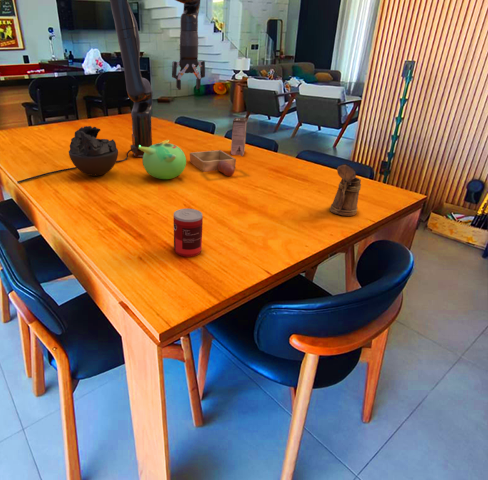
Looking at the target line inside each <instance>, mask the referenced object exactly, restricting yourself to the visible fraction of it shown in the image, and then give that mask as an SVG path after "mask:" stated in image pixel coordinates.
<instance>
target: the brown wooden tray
mask: <svg viewBox="0 0 488 480" xmlns="http://www.w3.org/2000/svg"><path fill="white" fill-rule="evenodd" d="M220 161H226V162H227V163H229V164H230V165H232V166H233V167H234V169H235V170H236V164H237V158H234V157H233V156H231V154H229V153H226V152H225V151H223V150H221V149H217V150H205V151H195V152H189V163H191V164H192V165H193V166H195V167H196V168H197V169H198V170H200V171H201V172H202V173H204V172H216V171H219V170H218V167H217V166H218V163H219V162H220Z"/></svg>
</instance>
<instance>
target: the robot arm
mask: <svg viewBox="0 0 488 480" xmlns="http://www.w3.org/2000/svg"><path fill="white" fill-rule="evenodd" d="M175 1H176V2H178V3H180V4H183V12H182V13H181V15H180V23H179V24H180V26H179V27H180V32H179V61H175V60H173V61H172V63H171V64H172V65H171V78H173V79H175V80H176V81H175V82H176V83H175V84H176V85H175V87H176V89H177V90H178V91H181V90H182V89H181V88H182V81H181V79H182V77H183V76H184V75H185V74H193V75H194V76H195V78H196V79H195V89H196V90H200V88H201V85H202V83H201V82H202V81H201V80H202V79H203V78H205V77H206V62H205V61H204V60H200V61H199V14H200V8H201V0H175ZM109 2H110V9H111V13H112V17H113V21H114V22H113V23H114V27H115V33H116V37H117V42H118V46H119V51H120V57H121V60H122V65H123V72H124V79H125V88H126V93H127V96H128V98H129V99H130V101H132V102H133V106H132V109H131V112H130V114H131V115H130V116H131V126H132V128H131V131H132V134H131V143H132V144H130V148H129V150H127V152H126V157H125V158H124V159H120V160H118V159H117V161H116V163H123V162H124V161H127V160H128V158H129V153H132V155H133V156H134V157H135V158H142V159H143V155H144V152H143V151H141V150H140V149H139V148H138V147H150V146H151V145H153V129H152V127H153V126H152V112H153V88H152V85H151V83H150V81H149V80H148V79H147V78H145V77H143V76H142V72H141V67H140V56H141V39H140V38H141V37H140V33H139V28H138V23H137V20H136V17H135V15H134V13H133V10H132V8H131V6H130V4H129V1H128V0H109ZM198 67H199V71H198V69H197V68H198ZM178 68H180V69H179V71H177V69H178ZM76 169H77V168H76V166H74V167H69V168H63V169H57V170H53V171H50V172H45V173H41V174H37V175H34V176H31V177H28V178H24V179H21V180H18V181H16V183H17V184H20V183H23V182H26V181H30V180H33V179H37V178H41V177H44V176H49V175H52V174H56V173H61V172H66V171H70V170H76ZM77 170H78V169H77Z"/></svg>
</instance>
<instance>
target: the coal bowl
mask: <svg viewBox="0 0 488 480" xmlns="http://www.w3.org/2000/svg"><path fill="white" fill-rule="evenodd" d="M100 132H101V128H98V127H96V126H93V127H92V126H91V125H84V126H81V127H80V128H78V129H77V130H75V131H74V137H72V138H71V139H70V144H69V150H68V156H69V159H70V161H71V162H72V164H73V166H74V167H76V168H77V170H79V171H80V173H83V174H84V175H88V176H91V177H92V176H93V177H97V176H102V175H105V174H106V173H109V172H110V171H111V170H112V169H113V168H114V167H115V165H116V163H117V162H116V161H118V156H119V149H118V148H117V143H116V141H115V139H111V140H110V139H107V138H97V137H98V135H99V133H100Z"/></svg>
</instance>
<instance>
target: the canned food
mask: <svg viewBox="0 0 488 480" xmlns="http://www.w3.org/2000/svg"><path fill="white" fill-rule="evenodd" d="M203 219H204V218H203V212H201V211H200V210H198V209H194V208H180V209H177V210H175V211H174V212H173V249H174V252H175V253H176V255H179V256H181V257H184V258H185V257H186V258H191V257H196V256H198V255H199V254H200V253H201V252H202V248H203V247H202V246H203V222H204V220H203Z"/></svg>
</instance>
